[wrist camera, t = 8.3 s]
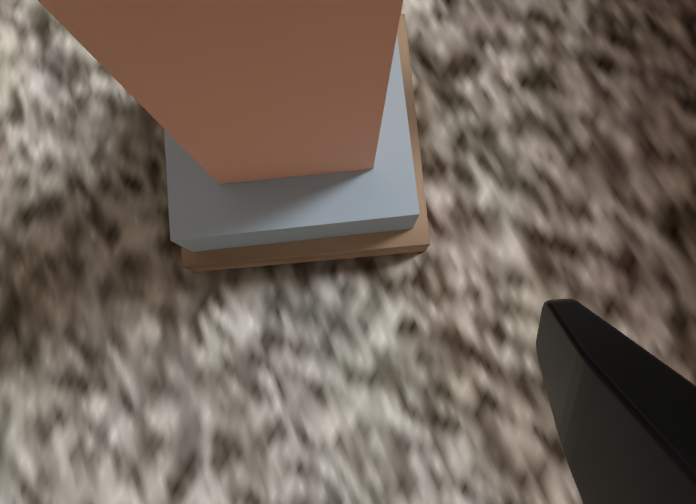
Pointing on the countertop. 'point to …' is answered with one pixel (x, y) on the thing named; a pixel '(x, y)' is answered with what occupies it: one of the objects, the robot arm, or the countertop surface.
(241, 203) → the grey top slab
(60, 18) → the terracotta block
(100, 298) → the countertop surface
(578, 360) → the robot arm
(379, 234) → the walnut base slab
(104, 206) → the countertop surface
